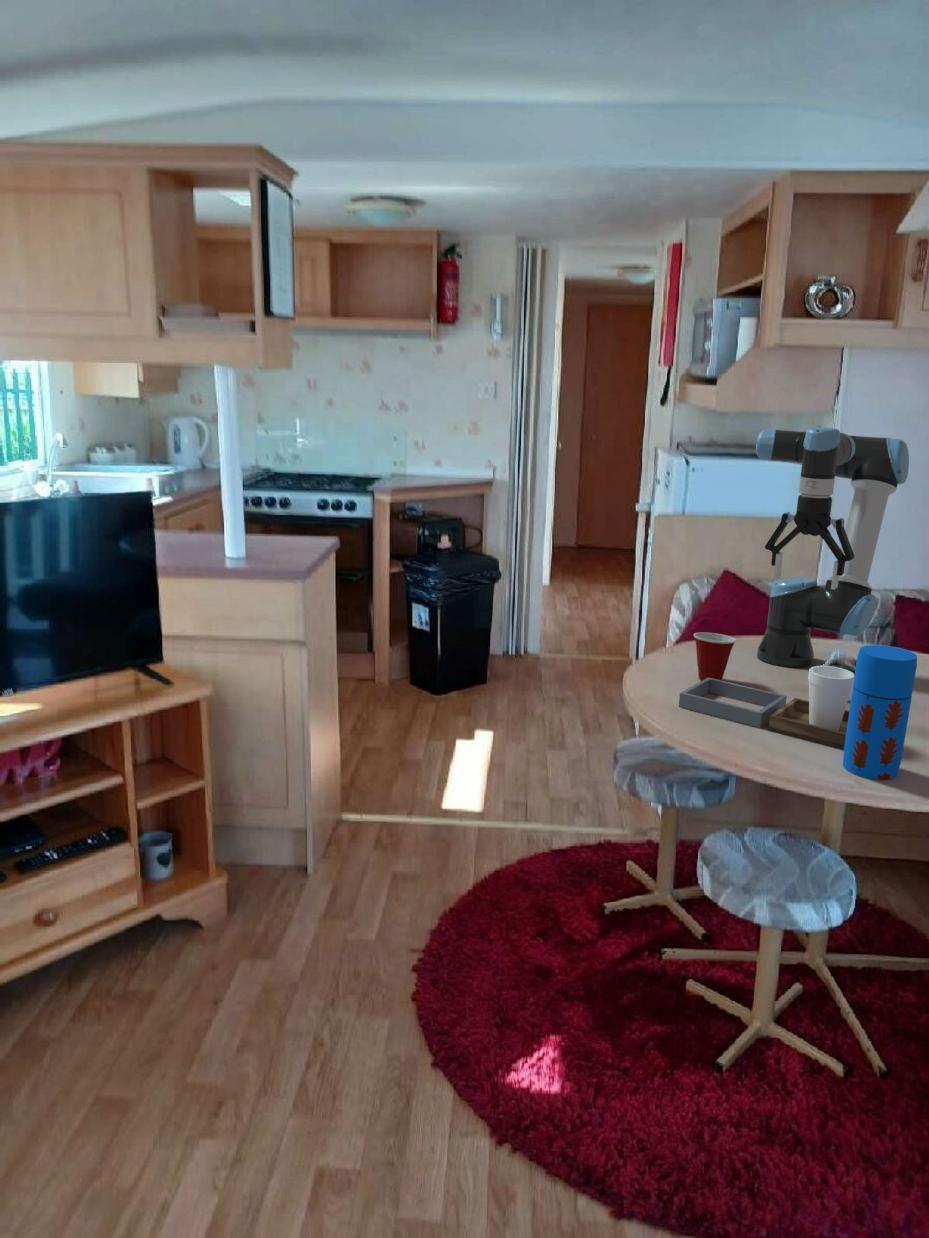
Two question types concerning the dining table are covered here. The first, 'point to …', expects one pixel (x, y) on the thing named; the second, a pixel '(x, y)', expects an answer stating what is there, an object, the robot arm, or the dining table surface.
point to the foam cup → (828, 695)
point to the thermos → (879, 711)
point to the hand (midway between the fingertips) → (804, 584)
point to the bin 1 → (728, 711)
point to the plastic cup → (712, 654)
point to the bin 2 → (806, 725)
